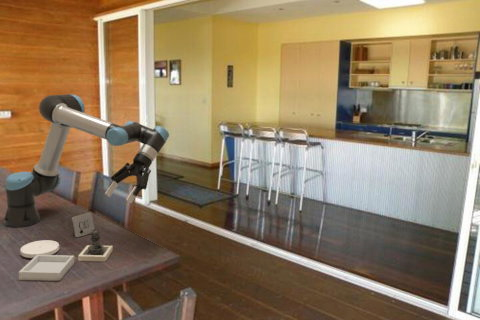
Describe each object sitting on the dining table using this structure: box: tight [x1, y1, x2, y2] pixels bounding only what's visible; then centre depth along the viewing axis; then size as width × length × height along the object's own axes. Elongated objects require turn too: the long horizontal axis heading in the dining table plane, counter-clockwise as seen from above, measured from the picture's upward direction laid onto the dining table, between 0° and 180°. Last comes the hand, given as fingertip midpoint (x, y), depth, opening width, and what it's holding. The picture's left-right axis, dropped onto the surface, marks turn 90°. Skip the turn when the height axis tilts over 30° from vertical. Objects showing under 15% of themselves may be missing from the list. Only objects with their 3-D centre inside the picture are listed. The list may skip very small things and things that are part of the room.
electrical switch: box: [70, 212, 95, 238], centre depth 185 cm, size 9×5×9 cm, turn 141°
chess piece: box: [88, 227, 105, 255], centre depth 163 cm, size 6×6×12 cm
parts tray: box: [18, 254, 75, 282], centre depth 150 cm, size 14×14×3 cm
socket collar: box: [77, 244, 114, 262], centre depth 164 cm, size 10×10×2 cm
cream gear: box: [20, 239, 60, 259], centre depth 165 cm, size 14×14×2 cm
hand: (117, 198), depth 169 cm, fingers open, 13 cm apart
